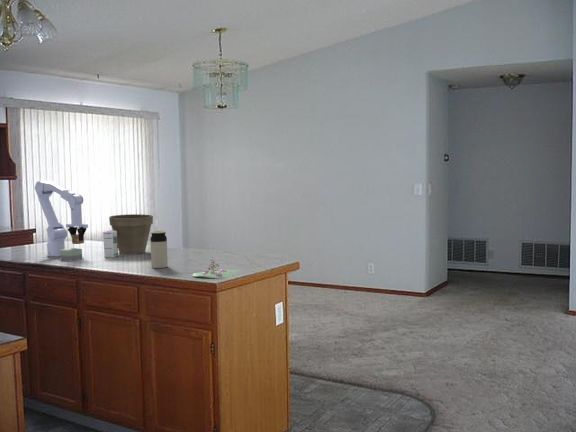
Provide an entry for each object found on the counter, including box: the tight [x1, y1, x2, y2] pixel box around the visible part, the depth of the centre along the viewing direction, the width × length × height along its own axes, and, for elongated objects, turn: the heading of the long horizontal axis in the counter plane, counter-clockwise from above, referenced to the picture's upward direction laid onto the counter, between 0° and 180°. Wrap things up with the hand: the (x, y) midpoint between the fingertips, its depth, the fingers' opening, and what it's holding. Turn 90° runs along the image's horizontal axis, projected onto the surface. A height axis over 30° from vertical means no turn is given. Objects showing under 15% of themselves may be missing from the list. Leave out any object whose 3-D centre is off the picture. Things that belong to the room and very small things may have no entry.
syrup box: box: [102, 230, 119, 258], centre depth 355 cm, size 6×6×14 cm
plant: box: [191, 256, 241, 279], centre depth 293 cm, size 25×21×9 cm
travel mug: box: [149, 230, 169, 269], centre depth 314 cm, size 8×8×18 cm
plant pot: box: [108, 213, 154, 255], centre depth 368 cm, size 25×25×22 cm
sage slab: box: [60, 247, 83, 256], centre depth 348 cm, size 8×8×3 cm
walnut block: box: [71, 233, 85, 245], centre depth 355 cm, size 4×4×5 cm
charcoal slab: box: [60, 253, 83, 262], centre depth 348 cm, size 8×8×3 cm
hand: (77, 240), depth 354 cm, fingers closed on walnut block, 4 cm apart
